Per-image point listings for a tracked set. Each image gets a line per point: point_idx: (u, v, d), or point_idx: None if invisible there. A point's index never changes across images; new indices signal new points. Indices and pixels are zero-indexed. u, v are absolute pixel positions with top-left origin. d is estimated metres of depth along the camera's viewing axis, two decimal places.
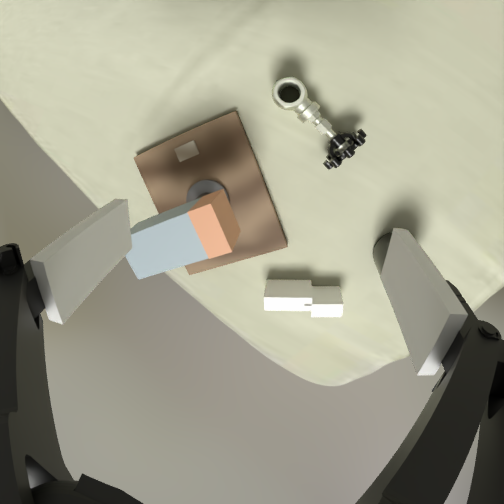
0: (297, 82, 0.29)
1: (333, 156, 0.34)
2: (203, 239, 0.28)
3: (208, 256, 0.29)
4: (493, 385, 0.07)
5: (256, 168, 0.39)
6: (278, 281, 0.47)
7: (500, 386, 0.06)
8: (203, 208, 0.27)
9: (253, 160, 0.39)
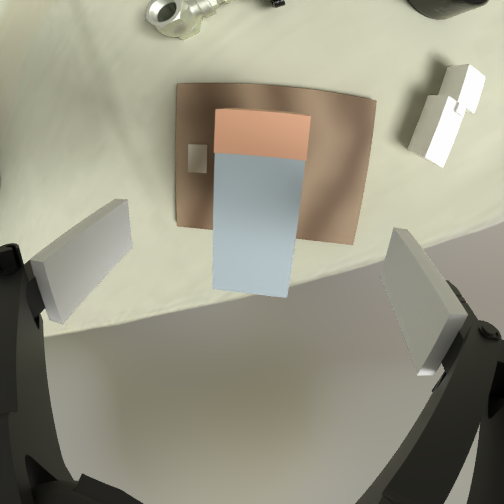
0: None
1: None
2: (268, 150, 0.15)
3: (301, 159, 0.15)
4: (493, 385, 0.07)
5: (256, 85, 0.27)
6: (414, 135, 0.27)
7: (500, 386, 0.06)
8: (218, 123, 0.15)
9: (245, 85, 0.27)
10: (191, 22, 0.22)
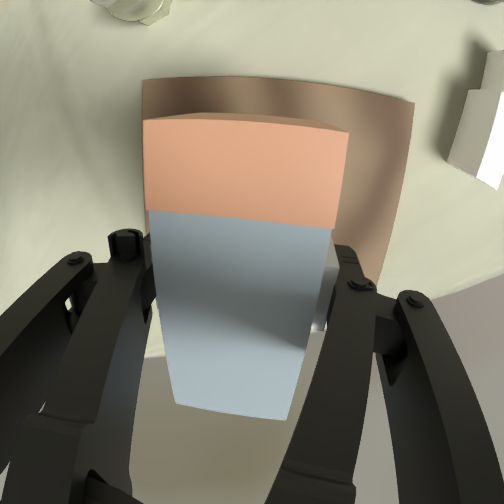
0: None
1: None
2: (255, 206, 0.07)
3: (324, 225, 0.07)
4: (376, 343, 0.09)
5: (249, 79, 0.19)
6: (456, 143, 0.19)
7: (385, 345, 0.09)
8: (150, 150, 0.07)
9: (233, 78, 0.19)
10: None
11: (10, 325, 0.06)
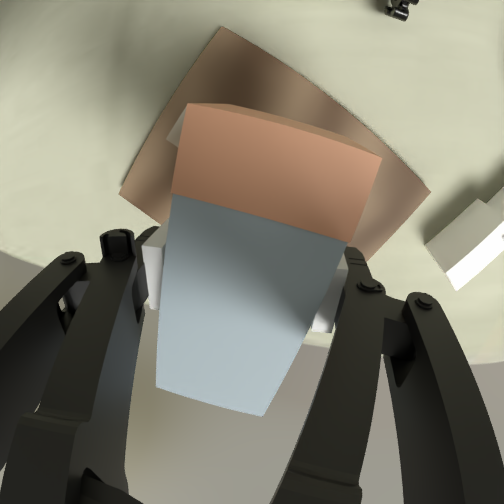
0: None
1: None
2: (281, 209, 0.08)
3: (342, 238, 0.08)
4: (385, 345, 0.09)
5: (314, 87, 0.19)
6: (441, 235, 0.23)
7: (394, 347, 0.08)
8: (188, 134, 0.07)
9: (301, 78, 0.18)
10: None
11: (5, 325, 0.06)
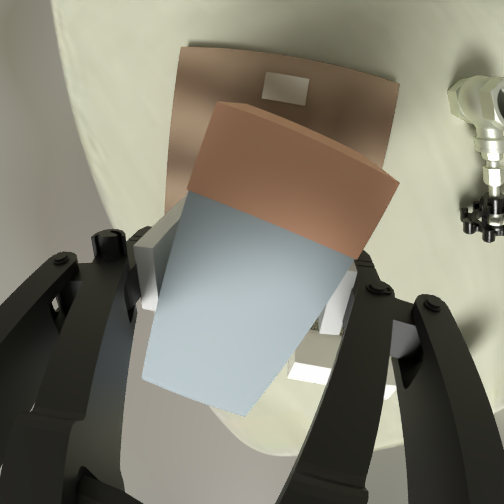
0: None
1: (487, 222, 0.18)
2: (296, 220, 0.08)
3: (350, 254, 0.08)
4: (394, 347, 0.09)
5: None
6: (313, 333, 0.29)
7: (402, 349, 0.08)
8: (213, 133, 0.07)
9: None
10: (476, 120, 0.15)
11: (0, 325, 0.06)
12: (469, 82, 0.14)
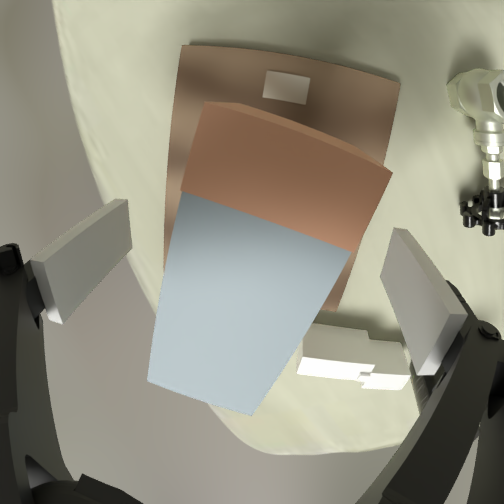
0: None
1: (486, 216, 0.18)
2: (290, 215, 0.08)
3: (346, 247, 0.08)
4: (493, 385, 0.07)
5: None
6: (320, 327, 0.29)
7: (500, 386, 0.06)
8: (202, 133, 0.07)
9: None
10: (475, 113, 0.15)
11: None
12: (468, 75, 0.14)
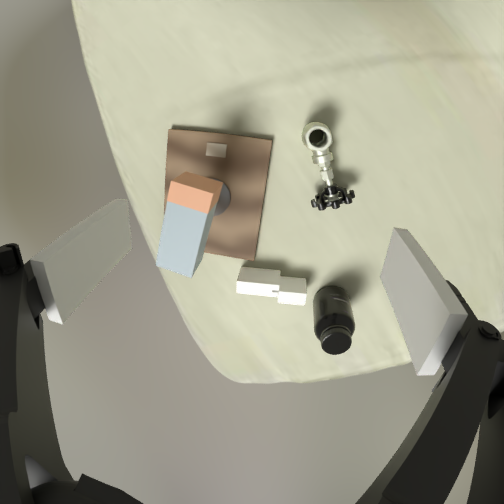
0: (328, 134, 0.36)
1: (321, 200, 0.42)
2: (191, 205, 0.33)
3: (205, 212, 0.33)
4: (493, 386, 0.07)
5: (263, 192, 0.46)
6: (251, 269, 0.53)
7: (500, 386, 0.06)
8: (171, 187, 0.32)
9: (264, 185, 0.46)
10: (308, 148, 0.40)
11: None
12: (304, 128, 0.39)
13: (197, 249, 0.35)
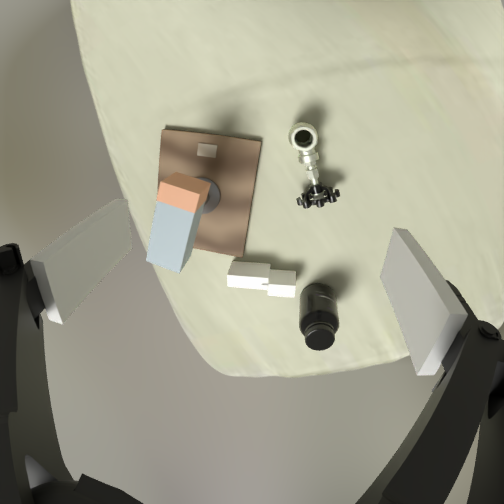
0: (314, 135, 0.38)
1: (307, 198, 0.44)
2: (179, 205, 0.34)
3: (192, 212, 0.35)
4: (493, 386, 0.07)
5: (251, 192, 0.48)
6: (242, 263, 0.55)
7: (500, 386, 0.06)
8: (160, 188, 0.34)
9: (252, 185, 0.47)
10: None
11: None
12: (291, 128, 0.40)
13: (185, 246, 0.37)
